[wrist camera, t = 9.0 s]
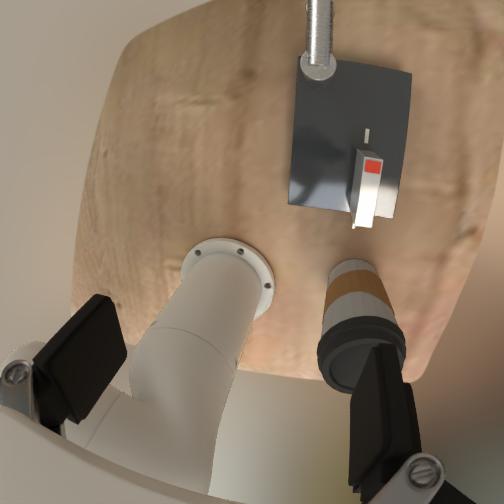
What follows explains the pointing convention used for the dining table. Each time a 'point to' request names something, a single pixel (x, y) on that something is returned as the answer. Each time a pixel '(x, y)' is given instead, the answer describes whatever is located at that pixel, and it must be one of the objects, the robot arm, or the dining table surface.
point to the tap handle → (365, 187)
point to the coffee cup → (355, 324)
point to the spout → (319, 44)
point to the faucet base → (348, 135)
